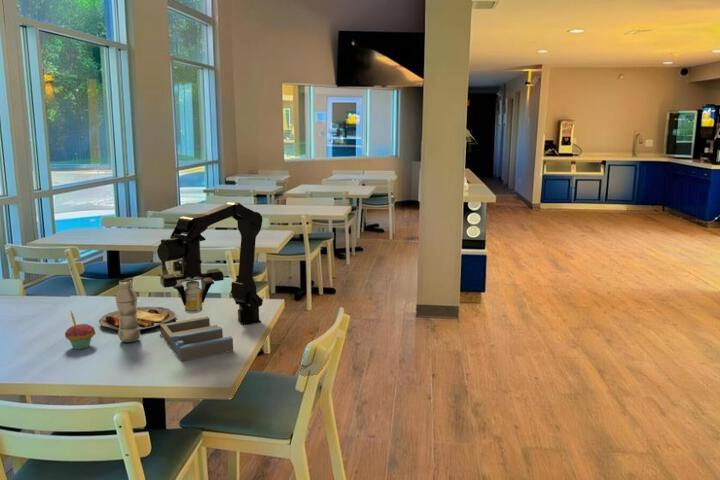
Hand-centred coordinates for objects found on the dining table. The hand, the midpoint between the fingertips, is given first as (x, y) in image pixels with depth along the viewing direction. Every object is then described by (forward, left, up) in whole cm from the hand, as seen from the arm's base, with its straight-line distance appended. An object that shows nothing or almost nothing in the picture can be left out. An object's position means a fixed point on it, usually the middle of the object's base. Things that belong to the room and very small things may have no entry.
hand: (193, 303), depth 189 cm
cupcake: (+32, -14, -13) cm, 37 cm away
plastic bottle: (+18, -11, -13) cm, 25 cm away
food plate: (+12, -29, -13) cm, 34 cm away
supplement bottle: (0, 0, -3) cm, 3 cm away
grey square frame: (0, +1, -13) cm, 13 cm away
